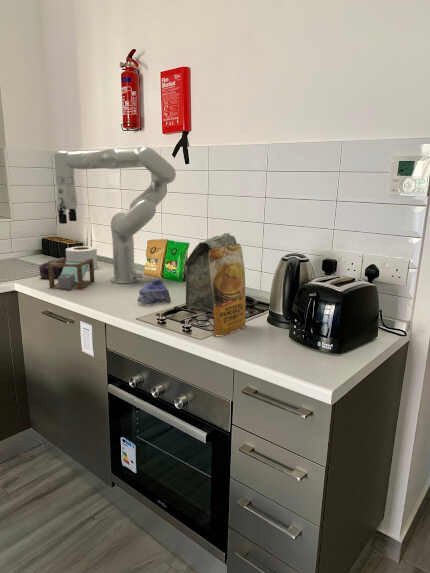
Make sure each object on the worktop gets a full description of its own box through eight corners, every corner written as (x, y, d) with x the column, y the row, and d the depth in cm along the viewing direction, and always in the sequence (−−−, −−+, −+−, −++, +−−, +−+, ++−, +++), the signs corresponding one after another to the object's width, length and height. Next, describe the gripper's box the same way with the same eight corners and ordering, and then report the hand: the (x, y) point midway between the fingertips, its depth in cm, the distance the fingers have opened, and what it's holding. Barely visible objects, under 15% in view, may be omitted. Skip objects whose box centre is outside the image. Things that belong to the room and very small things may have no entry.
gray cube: (74, 274, 192) (69, 278, 187) (75, 284, 194) (70, 288, 189) (63, 273, 192) (58, 277, 188) (64, 284, 194) (59, 288, 189)
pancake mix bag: (199, 334, 140) (200, 247, 133) (237, 320, 154) (240, 241, 147) (215, 340, 136) (217, 250, 129) (253, 325, 149) (256, 243, 142)
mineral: (158, 275, 180) (172, 278, 172) (162, 297, 182) (175, 301, 175) (128, 284, 171) (141, 287, 164) (131, 307, 174) (145, 311, 166)
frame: (94, 281, 203) (93, 258, 201) (81, 289, 189) (80, 265, 187) (64, 280, 205) (63, 257, 202) (49, 288, 191) (47, 263, 188)
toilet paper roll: (60, 269, 229) (59, 248, 226) (84, 264, 241) (83, 244, 239) (80, 273, 221) (79, 252, 218) (103, 268, 233) (102, 247, 230)
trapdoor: (88, 264, 200) (87, 263, 199) (81, 283, 194) (80, 282, 193) (66, 263, 201) (65, 262, 201) (58, 282, 195) (58, 281, 194)
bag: (209, 294, 186) (210, 230, 179) (243, 300, 179) (246, 233, 172) (181, 308, 166) (180, 236, 160) (218, 315, 159) (220, 240, 152)
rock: (39, 279, 211) (49, 283, 204) (34, 263, 208) (45, 265, 201) (61, 272, 219) (72, 275, 212) (57, 256, 216) (68, 258, 209)
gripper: (64, 182, 176) (67, 224, 181) (82, 181, 193) (84, 220, 197) (46, 181, 177) (50, 224, 181) (65, 180, 194) (68, 219, 198)
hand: (68, 222), depth 189 cm, fingers open, 9 cm apart
